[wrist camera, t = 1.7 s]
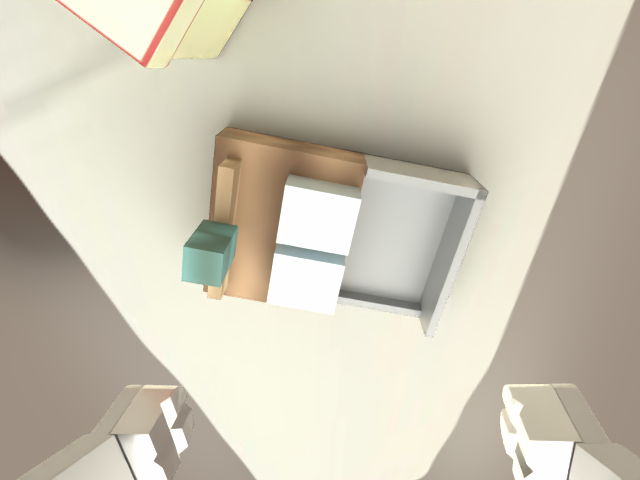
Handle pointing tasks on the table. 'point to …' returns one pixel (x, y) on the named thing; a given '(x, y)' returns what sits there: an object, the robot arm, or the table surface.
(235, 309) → the table surface
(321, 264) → the tile far
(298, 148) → the tan wooden board
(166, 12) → the gift box
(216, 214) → the teal-headed mallet
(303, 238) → the tile near
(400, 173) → the tray
